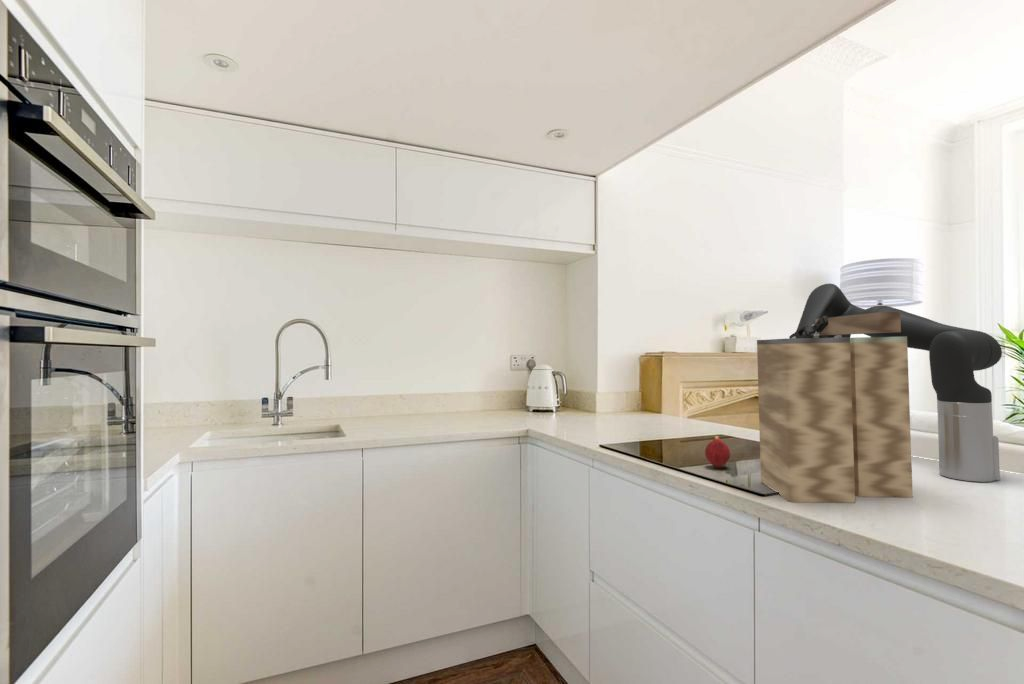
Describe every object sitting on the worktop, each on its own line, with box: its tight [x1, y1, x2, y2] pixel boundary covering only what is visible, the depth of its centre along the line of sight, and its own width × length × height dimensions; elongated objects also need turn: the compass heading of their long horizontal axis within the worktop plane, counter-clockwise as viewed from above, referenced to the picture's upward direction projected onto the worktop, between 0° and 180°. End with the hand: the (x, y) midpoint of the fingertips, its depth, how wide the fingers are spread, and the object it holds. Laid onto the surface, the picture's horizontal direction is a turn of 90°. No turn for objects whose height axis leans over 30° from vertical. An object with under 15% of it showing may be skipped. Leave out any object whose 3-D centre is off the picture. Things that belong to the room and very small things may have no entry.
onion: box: [704, 435, 731, 469], centre depth 125 cm, size 6×6×8 cm
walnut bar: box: [815, 312, 901, 335], centre depth 108 cm, size 4×24×4 cm, turn 174°
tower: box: [850, 336, 914, 498], centre depth 105 cm, size 10×14×32 cm
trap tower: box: [756, 336, 856, 504], centre depth 103 cm, size 12×14×32 cm
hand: (836, 319), depth 114 cm, fingers closed on walnut bar, 4 cm apart
